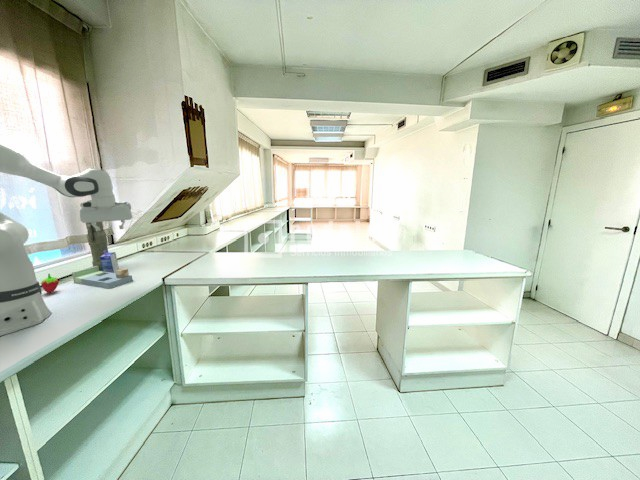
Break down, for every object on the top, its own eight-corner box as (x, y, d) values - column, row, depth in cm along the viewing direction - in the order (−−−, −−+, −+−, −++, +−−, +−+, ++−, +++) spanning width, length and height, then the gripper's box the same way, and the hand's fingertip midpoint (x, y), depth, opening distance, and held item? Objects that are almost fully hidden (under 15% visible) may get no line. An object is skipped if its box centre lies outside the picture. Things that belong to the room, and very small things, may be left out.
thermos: (116, 267, 166) (106, 214, 159) (108, 272, 155) (97, 216, 148) (99, 268, 163) (88, 214, 156) (90, 274, 152) (78, 216, 145)
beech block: (121, 278, 136) (120, 271, 136) (116, 277, 138) (115, 270, 137) (129, 275, 140) (127, 269, 139) (123, 275, 141) (122, 268, 141)
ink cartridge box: (108, 271, 157) (104, 249, 154) (119, 270, 160) (115, 248, 157) (103, 276, 148) (98, 252, 145) (114, 275, 151) (110, 251, 148)
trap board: (109, 288, 130) (107, 277, 129) (74, 282, 139) (71, 272, 138) (132, 280, 141) (130, 270, 140) (98, 275, 150) (96, 265, 149)
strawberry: (63, 288, 131) (59, 270, 129) (56, 294, 124) (51, 274, 122) (48, 290, 128) (44, 272, 126) (40, 296, 122) (35, 276, 120)
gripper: (131, 201, 133) (135, 227, 136) (80, 203, 124) (86, 231, 127) (128, 201, 128) (134, 228, 131) (75, 204, 118) (82, 233, 121)
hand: (110, 229), depth 129 cm, fingers open, 8 cm apart
